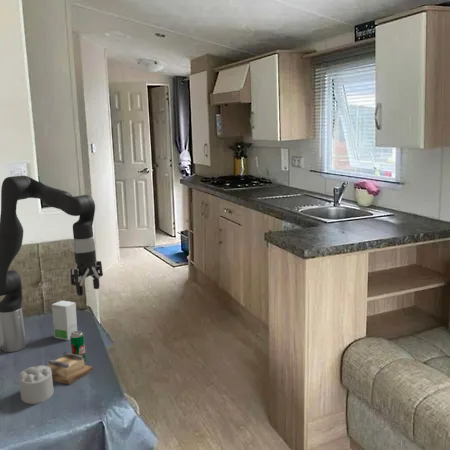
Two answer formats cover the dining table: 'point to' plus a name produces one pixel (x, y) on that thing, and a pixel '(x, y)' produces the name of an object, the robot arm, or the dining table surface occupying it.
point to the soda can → (78, 344)
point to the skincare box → (64, 319)
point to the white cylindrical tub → (36, 384)
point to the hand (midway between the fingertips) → (88, 292)
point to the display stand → (69, 368)
